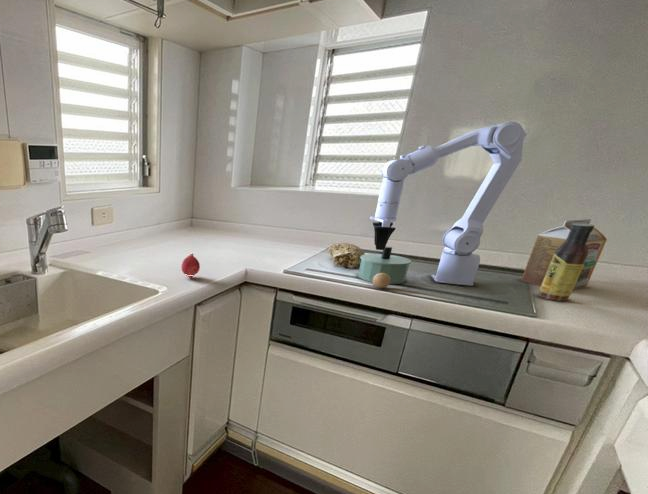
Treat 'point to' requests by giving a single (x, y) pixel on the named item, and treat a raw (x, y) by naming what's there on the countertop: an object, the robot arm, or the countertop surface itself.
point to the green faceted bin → (383, 271)
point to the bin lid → (385, 258)
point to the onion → (190, 265)
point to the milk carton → (549, 245)
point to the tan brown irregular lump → (346, 254)
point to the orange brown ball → (381, 280)
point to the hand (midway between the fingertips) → (378, 247)
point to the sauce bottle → (566, 264)
